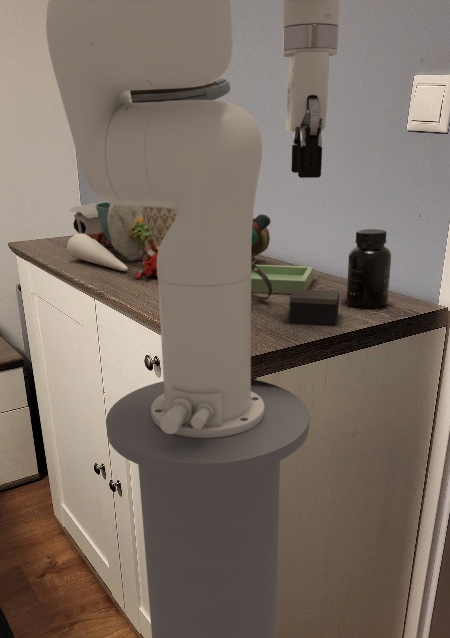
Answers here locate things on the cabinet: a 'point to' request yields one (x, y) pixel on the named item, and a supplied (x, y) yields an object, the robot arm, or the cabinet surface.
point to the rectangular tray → (282, 278)
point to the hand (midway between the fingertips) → (305, 174)
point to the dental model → (100, 238)
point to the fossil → (124, 230)
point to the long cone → (93, 252)
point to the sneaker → (183, 93)
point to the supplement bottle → (369, 270)
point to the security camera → (86, 219)
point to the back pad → (314, 307)
